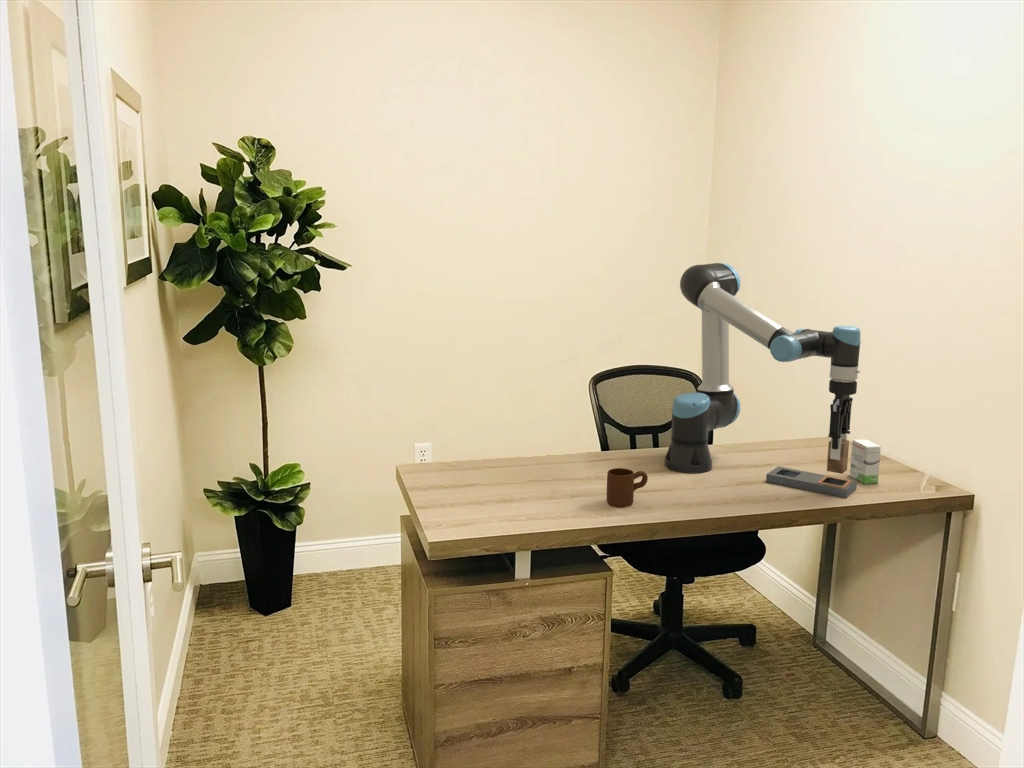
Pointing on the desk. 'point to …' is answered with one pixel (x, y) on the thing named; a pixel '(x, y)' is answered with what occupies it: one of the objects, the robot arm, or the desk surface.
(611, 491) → the mug
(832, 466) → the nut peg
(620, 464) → the desk surface
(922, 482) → the desk surface
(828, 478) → the grey socket board
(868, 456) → the ink box
